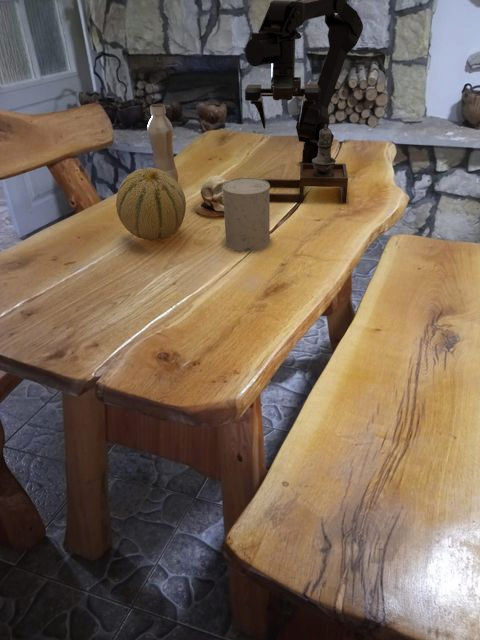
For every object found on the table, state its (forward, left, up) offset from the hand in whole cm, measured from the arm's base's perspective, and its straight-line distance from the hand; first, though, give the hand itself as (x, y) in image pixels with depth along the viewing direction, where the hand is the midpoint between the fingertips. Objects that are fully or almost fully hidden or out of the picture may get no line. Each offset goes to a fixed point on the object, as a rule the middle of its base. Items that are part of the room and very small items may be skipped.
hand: (282, 128), depth 143 cm
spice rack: (+5, +13, -13) cm, 19 cm away
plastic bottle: (+28, -14, -13) cm, 34 cm away
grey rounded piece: (+1, +17, -8) cm, 19 cm away
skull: (+26, +8, -13) cm, 30 cm away
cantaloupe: (+46, +12, -13) cm, 49 cm away
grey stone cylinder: (+32, +27, -13) cm, 44 cm away
